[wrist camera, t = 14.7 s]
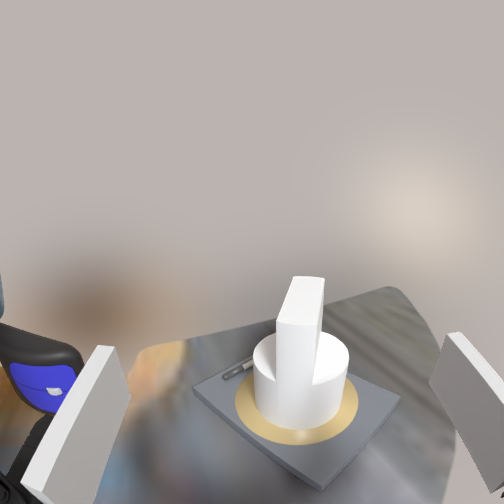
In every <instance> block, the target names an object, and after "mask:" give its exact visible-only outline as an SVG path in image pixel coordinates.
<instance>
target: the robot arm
mask: <svg viewBox="0 0 504 504" xmlns="http://www.w3.org/2000/svg"><path fill="white" fill-rule="evenodd" d="M3 312H4V298H3V290H2V283H1V276H0V318H1V317H2V315H3ZM429 385H430V386H431V388H432V390H433V391H434V393H435V394H436V396H437V398H438V399H439V401H440V403H441V404H442V406H443V408H444V409H445V411H446V413H447V414H448V416H449V418H450V419H451V421H452V423H453V424H454V426H455V428H456V430H457V431H458V433H459V435H460V437H461V438H462V440H463V442H464V444H465V446H466V447H467V449H468V451H469V453H470V455H471V457H472V458H473V460H474V462H475V464H476V466H477V468H478V470H479V472H480V474H481V475H482V478H483V479H484V481H485V483H486V485H487V487H488V489H489V491H490V493H493V492H494V491H496V490H498V489H499V488H501V487H503V486H504V382H503V380H502V379H501V378H500V377H499V375H498V374H497V373H496V372H495V371H494V369H493V368H492V367H491V366H490V365H489V364H488V362H487V361H486V360H485V359H484V358H483V357H482V355H481V354H480V353H479V352H478V351H477V350H476V349H475V348H474V346H473V345H472V344H471V343H470V342H469V341H468V340H467V339H466V338H465V336H464V335H463V334H462V333H461V332H455V333H449V334H447V335H446V338H445V341H444V343H443V346H442V349H441V352H440V355H439V357H438V360H437V363H436V365H435V368H434V370H433V373H432V375H431V378H430V380H429ZM130 399H131V395H130V392H129V389H128V386H127V383H126V380H125V377H124V374H123V371H122V368H121V365H120V362H119V359H118V355H117V352H116V349H115V347H112V346H102V345H98V346H97V347H96V349H95V350H94V352H93V353H92V355H91V357H90V358H89V360H88V361H87V363H86V364H85V366H84V368H83V369H82V371H81V373H80V374H79V376H78V377H77V379H76V381H75V382H74V384H73V386H72V387H71V389H70V391H69V392H68V394H67V396H66V398H65V399H64V401H63V403H62V404H61V406H60V408H59V410H58V411H57V413H56V415H55V417H54V416H51V415H47V414H46V415H44V416H43V417H42V418H41V419H40V420H39V421H37V422H36V423H35V425H34V427H33V428H32V430H31V432H30V436H28V437H27V439H26V441H25V442H24V443H25V445H23V446H22V448H21V450H20V451H19V453H18V455H17V457H16V459H15V461H14V463H13V465H12V466H11V468H10V470H9V472H8V474H7V475H6V477H5V476H4V475H3V474H2V473H1V471H0V504H93V503H94V500H95V497H96V494H97V490H98V487H99V484H100V481H101V479H102V476H103V473H104V470H105V467H106V464H107V461H108V458H109V456H110V453H111V450H112V447H113V444H114V442H115V439H116V436H117V434H118V431H119V428H120V425H121V423H122V420H123V418H124V415H125V412H126V410H127V407H128V405H129V402H130ZM503 497H504V492H503V493H502V496H501V498H503Z"/></svg>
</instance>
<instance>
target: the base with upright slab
mask: <svg viewBox="0 0 504 504" xmlns="http://www.w3.org/2000/svg"><path fill="white" fill-rule="evenodd" d="M324 281H325V280H324V278H318V277H310V276H308V277H307V276H296V277H293V280H292V283H291V285H290V288H289V290H288V293H287V295H286V298H285V301H284V303H283V306H282V308H281V311H280V313H279V316H278V318H277V320H276V333H274V334H272V335H269V336H267V337H266V338H264V339H263V340H262V341H260V342H259V343H258V345H257V346H256V348H255V349H254V353H253V371H254V390H255V403H256V408H257V410H258V411H259V413H260V415H261V416H262V417H263V418H264V419H266V420H267V421H268V422H270V423H272V424H274V425H276V426H278V427H281V428H285V429H289V430H306V429H312V428H316V427H318V426H321V425H323V424H325V423H327V422H328V421H329V420H331V419H332V418H333V417H334V416H335V415H336V413H337V412H338V410H339V408H340V404H341V400H342V395H343V390H344V385H345V379H346V374H347V368H348V362H349V354H348V350H347V348H346V347H345V345H344V344H343V343H342V342H341V341H340V340H338V339H337V338H336V337H334V336H332V335H330V334H328V333H324V332H321V327H322V313H323V298H324Z"/></svg>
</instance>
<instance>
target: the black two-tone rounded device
mask: <svg viewBox="0 0 504 504" xmlns="http://www.w3.org/2000/svg"><path fill="white" fill-rule="evenodd" d="M0 362H1V364H2V366H3V368H4V370H5V372H6V374H7V376H8V378H9V380H10V382H11V384H12V386H13V387H14V389H15V391H16V393H17V394H18V396H19V397H20V398H21V399H22V400H23V401H24V402H25V403H26V404H28V405H29V406H30V407H32V408H34V409H35V410H37V411H39V412H42V413H44V414H47V415H51V416H55V415H56V413H57V411H58V410H59V408H60V406H61V404H62V403H63V401H64V399H65V398H66V396H67V394H68V392H69V391H70V389H71V387H72V386H73V384H74V382H75V381H76V379H77V377H78V376H79V374H80V373H81V371H82V369H83V368H84V366H85V365H84V362H83V359H82V357H81V355H80V353H79V352H78V351H77V350H76V349H75V348H74V347H72V346H71V345H69V344H67V343H63V342H59V341H56V340H53V339H49V338H46V337H42V336H39V335H36V334H32V333H29V332H26V331H23V330H20V329H17V328H14V327H12V326H9V325H6V324H3V323H0Z"/></svg>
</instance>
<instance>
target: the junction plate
mask: <svg viewBox="0 0 504 504" xmlns="http://www.w3.org/2000/svg"><path fill="white" fill-rule="evenodd" d="M193 390H194V394H195V395H196V396H197V397H198V398H199V399H200V400H201V401H202V402H203V403H204V404H205V405H207V406H208V407H209V408H210V409H211V410H212V411H213V412H214V413H216V414H217V415H218V416H219V417H220V418H221V419H223V420H224V421H225V422H226V423H227V424H228V425H230V426H231V427H232V428H233V429H234V430H236V431H237V432H238V433H239V434H240V435H242V436H243V437H244V438H245V439H247V440H248V441H249V442H250V443H252V444H253V445H254V446H256V447H257V448H258V449H259V450H261V451H262V452H263V453H265V454H266V455H267V456H269V457H270V458H271V459H273V460H274V461H275V462H277V463H278V464H279V465H281V466H282V467H284V468H285V469H286V470H288V471H289V472H291V473H292V474H294V475H295V476H297V477H298V478H299V479H301V480H302V481H304V482H305V483H307V484H308V485H310V486H311V487H313V488H315V489H316V490H318V491H319V492H321V491H322V490H323V489H324V488H325V487H327V486H328V485H329V484H330V483H331V482H332V481H333V480H334V479H335V478H336V477H337V476H338V475H339V473H340V472H341V471H342V470H343V469H344V468H345V467H346V466H347V465H348V464H349V463H350V462H351V461H352V460H353V459H354V457H355V456H356V455H357V454H358V453H359V452H360V451H361V450H362V448H363V447H364V446H365V445H366V444H367V443H368V441H369V440H370V439H371V438H372V437H373V436H374V434H375V433H376V432H377V431H378V429H379V428H380V427H381V426H382V424H383V423H384V422H385V421H386V419H387V418H388V417H389V415H390V414H391V413H392V411H393V410H394V409H395V407H396V406H397V405H398V403H399V400H400V398H401V396H399V395H396V394H394V393H392V392H390V391H387V390H385V389H383V388H381V387H378V386H376V385H374V384H372V383H370V382H367V381H365V380H363V379H361V378H359V377H357V376H355V375H352V374H350V373H348V372H347V374H346V379H345V385H344V390H343V395H342V400H341V404H340V408H339V410H338V412H337V413H336V415H335V416H334V417H333V418H332V419H331V420H329V421H328V422H327V423H325V424H323V425H321V426H318V427H316V428H312V429H306V430H289V429H285V428H281V427H278V426H276V425H274V424H272V423H270V422H268V421H267V420H266V419H264V418H263V417H262V416H261V415H260V413H259V411H258V410H257V408H256V403H255V390H254V371H253V355H252V356H250V357H248V358H246V359H244V360H243V361H241V362H239V363H237V364H235V365H234V366H232V367H230V368H228V369H226V370H224V371H222V372H221V373H219V374H217V375H215V376H213V377H211V378H209V379H207V380H205V381H203V382H202V383H200V384H198V385H196V386H194V387H193Z"/></svg>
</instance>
